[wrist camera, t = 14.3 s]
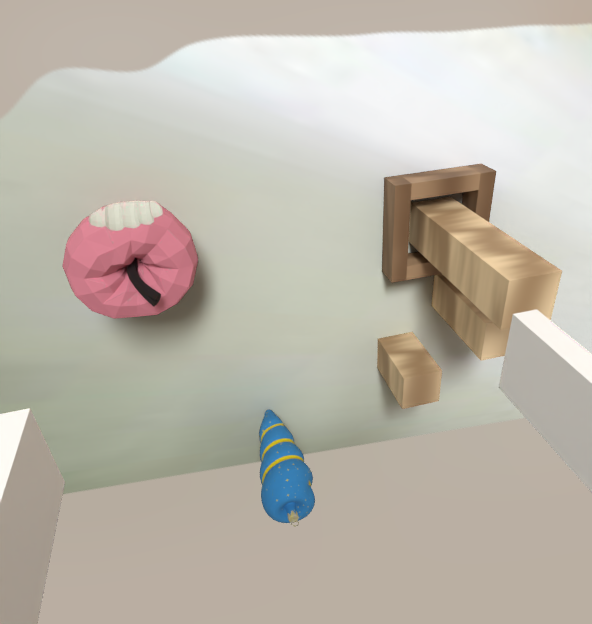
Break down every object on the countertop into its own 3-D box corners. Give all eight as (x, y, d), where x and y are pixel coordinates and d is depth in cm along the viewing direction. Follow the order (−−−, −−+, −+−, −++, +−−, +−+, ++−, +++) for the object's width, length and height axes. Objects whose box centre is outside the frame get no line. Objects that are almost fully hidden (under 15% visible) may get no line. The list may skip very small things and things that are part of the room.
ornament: (282, 429, 59) (315, 545, 46) (238, 427, 57) (261, 546, 44) (294, 395, 56) (333, 506, 44) (250, 391, 55) (277, 506, 42)
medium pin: (431, 305, 54) (480, 360, 46) (434, 272, 52) (486, 324, 44) (465, 299, 55) (520, 352, 47) (470, 266, 53) (528, 315, 44)
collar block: (382, 271, 51) (391, 282, 48) (384, 177, 45) (395, 185, 43) (469, 256, 52) (482, 266, 50) (481, 163, 47) (496, 171, 45)
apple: (192, 183, 42) (200, 228, 34) (194, 277, 46) (202, 337, 38) (68, 181, 40) (44, 229, 31) (82, 280, 44) (64, 344, 36)
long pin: (408, 241, 50) (500, 329, 36) (410, 202, 47) (509, 280, 34) (446, 235, 50) (550, 319, 37) (450, 196, 48) (562, 270, 35)
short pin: (377, 367, 57) (402, 409, 51) (377, 338, 55) (403, 378, 49) (410, 360, 58) (438, 400, 52) (412, 331, 56) (442, 370, 50)
